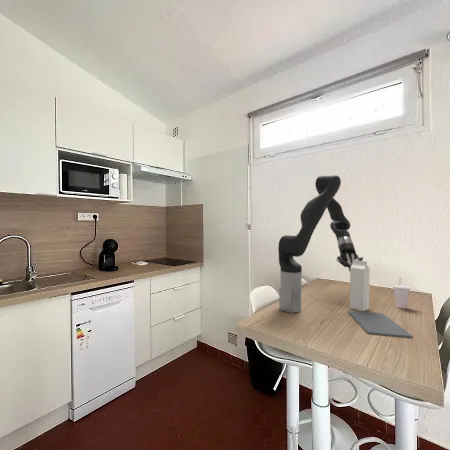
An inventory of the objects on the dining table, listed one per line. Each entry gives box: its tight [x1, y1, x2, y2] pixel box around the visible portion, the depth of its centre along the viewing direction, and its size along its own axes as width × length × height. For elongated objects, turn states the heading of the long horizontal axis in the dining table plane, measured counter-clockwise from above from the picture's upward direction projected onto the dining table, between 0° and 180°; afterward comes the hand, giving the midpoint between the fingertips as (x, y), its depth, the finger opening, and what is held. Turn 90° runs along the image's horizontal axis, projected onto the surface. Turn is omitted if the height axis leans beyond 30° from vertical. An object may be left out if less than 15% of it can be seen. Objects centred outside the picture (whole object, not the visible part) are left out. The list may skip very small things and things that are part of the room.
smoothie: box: [392, 276, 411, 310], centre depth 113 cm, size 6×6×14 cm
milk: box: [349, 259, 371, 312], centre depth 110 cm, size 6×6×22 cm
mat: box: [347, 310, 414, 339], centre depth 93 cm, size 22×14×1 cm, turn 169°
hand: (353, 273), depth 118 cm, fingers closed
